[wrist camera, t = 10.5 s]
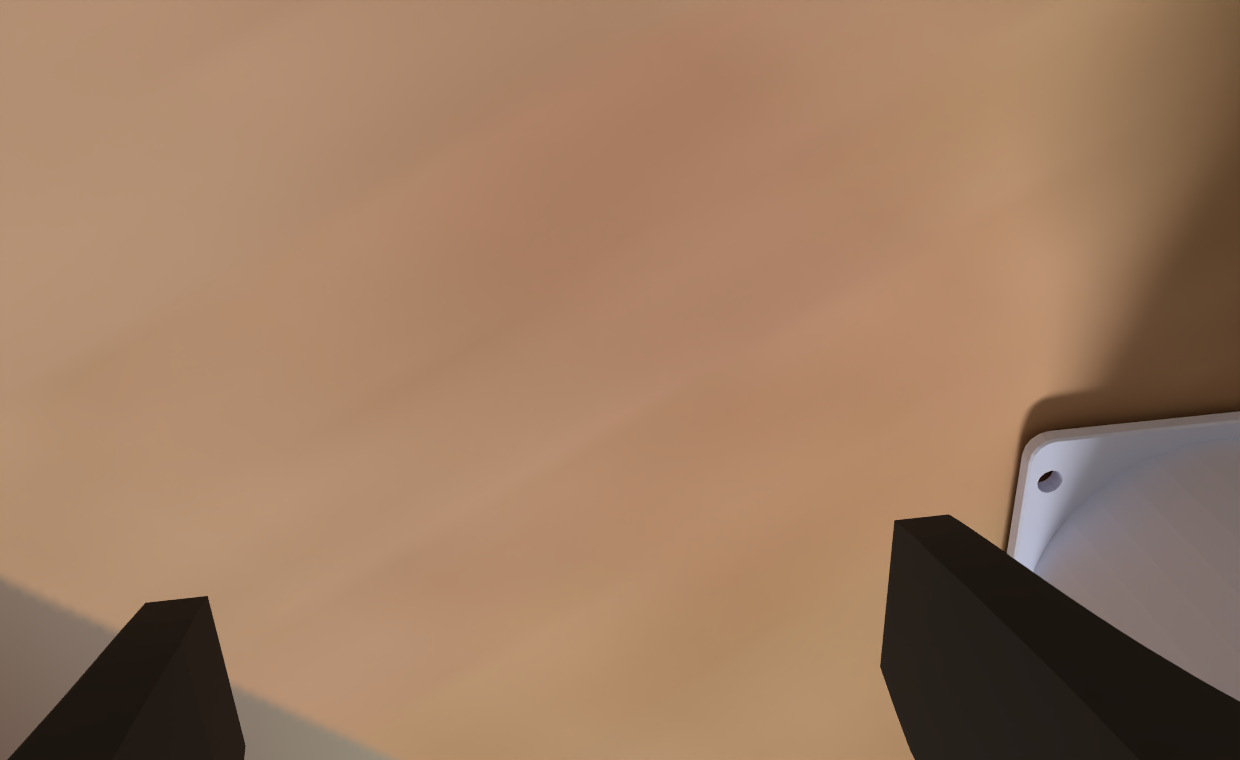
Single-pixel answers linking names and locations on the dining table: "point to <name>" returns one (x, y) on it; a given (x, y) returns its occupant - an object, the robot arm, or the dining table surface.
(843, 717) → the dining table surface
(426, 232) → the dining table surface
